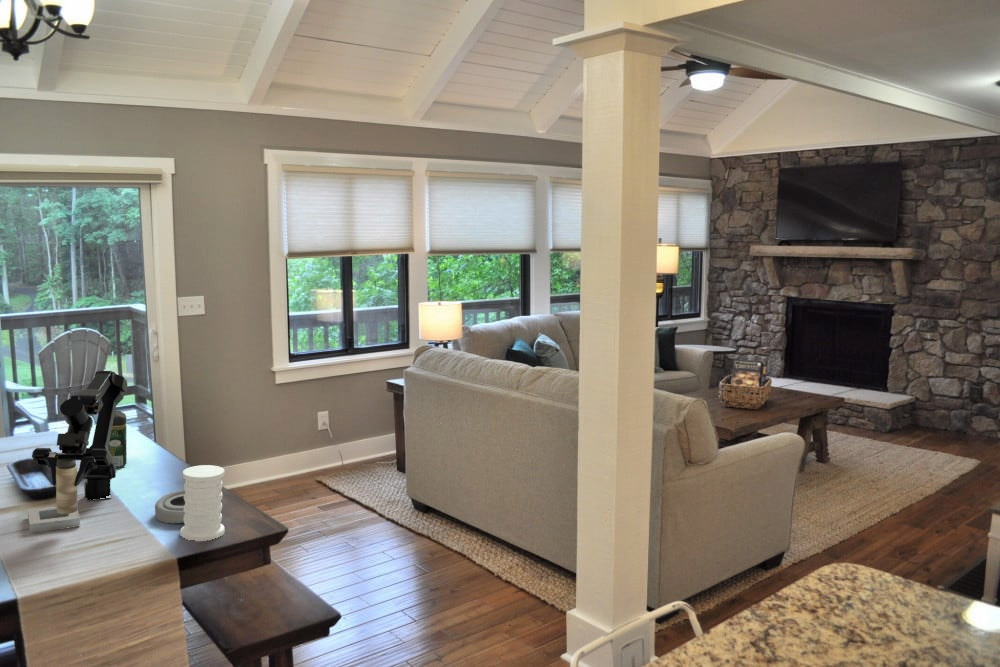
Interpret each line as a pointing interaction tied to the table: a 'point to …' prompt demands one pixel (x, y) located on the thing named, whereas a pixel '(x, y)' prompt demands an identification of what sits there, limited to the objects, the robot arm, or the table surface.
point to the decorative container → (203, 503)
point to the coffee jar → (118, 440)
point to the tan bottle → (66, 486)
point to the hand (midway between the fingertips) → (64, 485)
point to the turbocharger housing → (171, 507)
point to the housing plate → (52, 523)
